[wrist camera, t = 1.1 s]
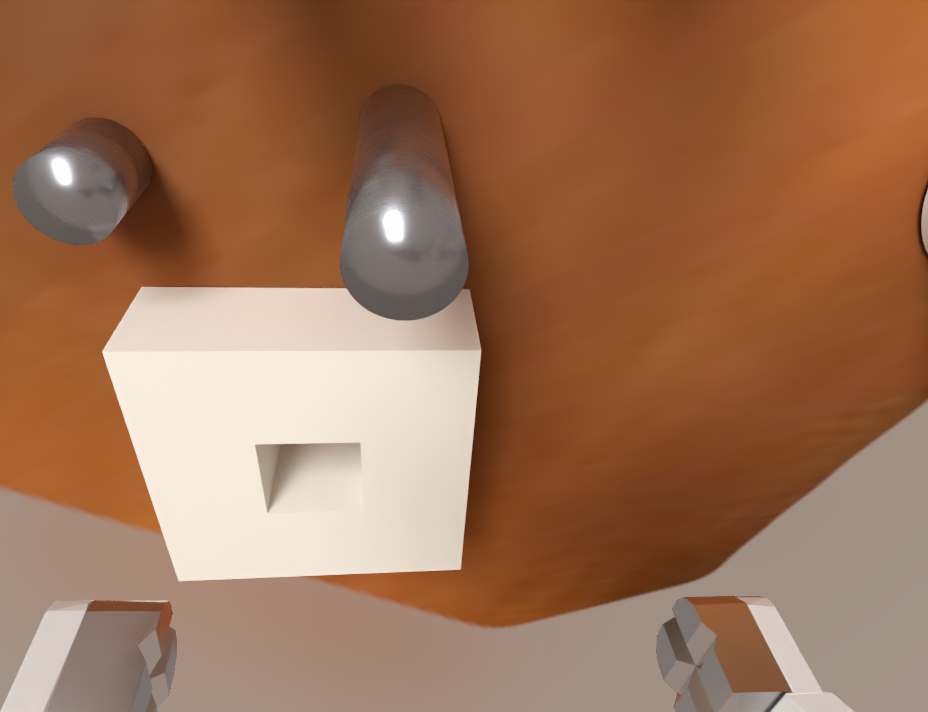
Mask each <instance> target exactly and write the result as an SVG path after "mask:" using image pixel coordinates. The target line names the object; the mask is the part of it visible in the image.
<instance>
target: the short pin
mask: <svg viewBox="0 0 928 712" xmlns="http://www.w3.org/2000/svg"><path fill="white" fill-rule="evenodd" d="M151 177H152V162H151V158H150V155H149V153H148V151H147V149H146V147H145V146H144V144H143V143H142V141H141V140H140V139H139V138H138V137H137V136H136V135H135V134H134V133H133V132H132V131H130V130H129V129H128V128H126V127H124V126H123V125H121V124H119V123H117V122H114V121H111V120H108V119H104V118H87V119H83V120H80V121H78V122H76V123H74V124H73V125H72V126H70V127H69V128H68V129H67V130H65V131H64V132H63V133H61V134H60V135H59V136H58V137H56V138H55V139H54V140H52V141H51V142H50V143H49V144H47V145H46V146H45V147H43V148H42V149H41V150H40V151H38V152H37V153H36V154H34V155H33V156H32V157H31V158H29V159H28V160H27V161H25V162H24V163H23V164H22V165H21V166H20V167H19V168H18V170H17V171H16V173H15V176H14V179H13V195H14V198H15V201H16V204H17V206H18V208H19V210H20V211H21V213H22V214H23V216H24V217H25V218H26V219H27V220H28V221H29V223H30V224H32V225H33V226H34V227H35V228H36V229H37V230H39V231H40V232H42V233H43V234H45V235H47V236H48V237H50V238H52V239H55V240H57V241H60V242H63V243H67V244H73V245H88V244H93V243H97V242H99V241H101V240H103V239H104V238H106V237H107V236H108V235H109V234H110V233H111V232H112V231H113V230H114V228H115V227H116V226H117V225H118V223H119V222H120V221H121V219H122V218H123V217H124V216H125V214H126V213H127V212H128V211H129V209H130V208H131V207H132V205H133V204H134V203H135V202H136V200H137V199H138V198H139V197H140V195H141V194H142V193H143V192H144V190H145V189H146V188H147V186H148V185H149V183H150V180H151Z"/></svg>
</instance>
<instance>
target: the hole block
mask: <svg viewBox="0 0 928 712" xmlns="http://www.w3.org/2000/svg"><path fill="white" fill-rule="evenodd" d="M102 353H103V356H104V359H105V362H106V365H107V368H108V371H109V374H110V377H111V380H112V383H113V386H114V389H115V392H116V395H117V398H118V401H119V404H120V407H121V410H122V413H123V416H124V419H125V422H126V425H127V428H128V431H129V434H130V437H131V440H132V443H133V446H134V449H135V452H136V455H137V458H138V461H139V464H140V467H141V470H142V473H143V476H144V479H145V482H146V485H147V488H148V491H149V494H150V497H151V500H152V503H153V506H154V509H155V512H156V515H157V518H158V521H159V524H160V527H161V530H162V533H163V536H164V539H165V542H166V545H167V547H168V551H169V553H170V557H171V560H172V563H173V566H174V569H175V572H176V575H177V577H178V581H191V580H216V579H217V580H218V579H242V578H264V577H265V578H266V577H291V576H316V575H340V574H365V573H389V572H414V571H438V570H461V560H462V550H463V539H464V529H465V518H466V508H467V497H468V486H469V476H470V465H471V455H472V444H473V434H474V423H475V412H476V402H477V391H478V381H479V370H480V360H481V346H480V340H479V335H478V330H477V325H476V319H475V314H474V309H473V304H472V299H471V293H470V289H462V290H461V292H460V293H459V295H458V296H457V297H456V298H455V300H454V301H453V302H452V303H451V304H449V305H448V306H447V307H446V308H444V309H443V310H441V311H440V312H438V313H436V314H434V315H431V316H429V317H426V318H422V319H417V320H408V321H402V320H393V319H388V318H384V317H381V316H378V315H376V314H374V313H372V312H370V311H368V310H367V309H365V308H364V307H362V306H361V305H360V304H359V303H358V302H357V301H356V300H355V299H354V298H353V297H352V296H351V294H350V293H349V291H348V290H347V288H223V287H141V289H140V290H139V292H138V294H137V295H136V297H135V299H134V300H133V302H132V304H131V305H130V307H129V308H128V310H127V312H126V313H125V315H124V317H123V318H122V320H121V322H120V323H119V325H118V326H117V328H116V330H115V331H114V333H113V335H112V336H111V338H110V340H109V341H108V343H107V345H106V346H105V348H104V349H103V351H102Z"/></svg>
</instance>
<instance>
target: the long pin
mask: <svg viewBox="0 0 928 712" xmlns="http://www.w3.org/2000/svg"><path fill="white" fill-rule="evenodd" d="M340 268H341V275H342V278H343V281H344V284H345V286H346V288H347V290H348V291H349V293H350V294H351V296H352V297H353V298H354V299H355V300H356V301H357V302H358V303H359V304H360V305H361V306H362V307H364V308H365V309H367V310H368V311H370V312H372V313H374V314H376V315H378V316H381V317H384V318H388V319H393V320H402V321H408V320H417V319H422V318H426V317H429V316H431V315H434V314H436V313H438V312H440V311H441V310H443V309H444V308H446V307H447V306H448V305H449V304H451V303H452V302H453V301H454V300H455V298H456V297H457V296H458V295H459V293H460V292H461V290H462V289H463V286H464V284H465V282H466V279H467V275H468V269H469V260H468V253H467V248H466V243H465V238H464V233H463V228H462V223H461V218H460V213H459V209H458V204H457V199H456V194H455V189H454V184H453V179H452V174H451V169H450V164H449V159H448V154H447V149H446V144H445V139H444V135H443V130H442V125H441V120H440V116H439V113H438V110H437V108H436V107H435V105H434V103H433V102H432V101H431V99H430V98H429V97H428V96H427V95H425V94H424V93H423V92H421V91H419V90H418V89H416V88H413V87H410V86H406V85H392V86H387V87H384V88H382V89H380V90H378V91H377V92H375V93H374V94H373V95H371V96H370V97H369V99H368V100H367V101H366V103H365V104H364V106H363V108H362V110H361V113H360V117H359V123H358V131H357V138H356V146H355V153H354V161H353V168H352V176H351V183H350V191H349V198H348V206H347V213H346V221H345V228H344V236H343V243H342V251H341V258H340Z"/></svg>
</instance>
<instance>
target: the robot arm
mask: <svg viewBox="0 0 928 712" xmlns="http://www.w3.org/2000/svg"><path fill="white" fill-rule="evenodd" d="M921 230H922V238H923V243H924V246H925V249H926V251H927V253H928V190H927V193H926V196H925V200H924V204H923V210H922V218H921ZM672 610H673V613H674V615H675V617H674V618H672V619H671V620H669V621H667V622H666V623H664V624H663V625H662V627H661V629H660V631H659V633H658V635H657V647H656V653H657V659H658V664H659V668H660V670H661V673H662V676H663V679H664V681H665V682H666V683H667V684H668V685H669V686H670V687H671V688H672V689H673V690H674V691H675V692H676V693H677V697H676V701H675V705H674V709H675V712H854V711H853V710H852V709H851V708H849V707H848V706H847V705H846V704H845V703H843V702H842V701H841V700H840V699H839V698H838V697H836V696H835V695H834V694H833V693H832V692H824V691H822V690H821V688H820V686H819V684H818V682H817V681H816V679H815V677H814V675H813V674H812V672H811V670H810V668H809V666H808V665H807V663H806V661H805V659H804V658H803V656H802V654H801V652H800V650H799V649H798V647H797V645H796V643H795V641H794V640H793V638H792V636H791V634H790V633H789V631H788V629H787V627H786V626H785V624H784V622H783V620H782V618H781V617H780V615H779V613H778V611H777V610H776V608H775V606H774V605H773V603H772V602H770V601H769V600H768V599H767V598H765V597H760V596H747V597H735V596H718V597H717V596H716V597H684V598H681V599H679V600H677V602H676V604H675V605H674V606H673V608H672ZM171 618H172V609H171V604H170V601H96V600H63V601H61V600H60V601H54V603H53V604H52V605H51V606H50V608H49V609H48V610H47V611H46V613H45V615H44V617H43V619H42V621H41V623H40V625H39V628H38V630H37V632H36V634H35V637H34V639H33V641H32V643H31V645H30V648H29V650H28V652H27V654H26V657H25V659H24V661H23V663H22V665H21V667H20V670H19V672H18V674H17V676H16V679H15V681H14V683H13V685H12V687H11V689H10V692H9V694H8V696H7V698H6V700H5V703H4V705H3V707H2V709H1V711H0V712H158V711H157V707H158V706H159V705H160V704H161V703H162V702H163V701H164V700H165V699H166V698H167V697H168V696H169V693H170V689H171V685H172V681H173V677H174V671H175V663H176V657H177V637H176V631H175V630H174V629H172V628H171V627H169V625H170V621H171Z"/></svg>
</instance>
